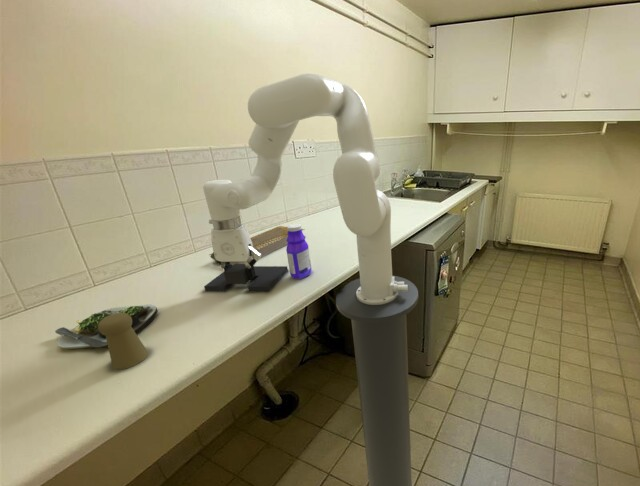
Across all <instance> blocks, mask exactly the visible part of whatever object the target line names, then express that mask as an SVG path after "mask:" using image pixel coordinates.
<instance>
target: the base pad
mask: <svg viewBox="0 0 640 486" xmlns="http://www.w3.org/2000/svg"><path fill="white" fill-rule="evenodd" d="M254 269H255V274H256V275H255V277H254V278H252V279H251V280H250V281H251V282H250V283H249V284H248V285H247V291H248V293H252V292H253V293H255V292H256V293H265V292H266V293H269V292H270V291H271V290H272V289H273V288H274V287H275V286H276V285H277V284H278V283H279V282H280V280H281V279H283V278H284V276H285V275H286V274H287V273H289V267H288V266H287V265H285V266H281V265H279V266H278V265H275V266H273V265H269V266H267V265H266V266H265V265H261V266H260V265H254ZM234 285H235V284H227V283H226V279H225V275H224V271H223V272H222V273H220V274H219V275H217V276H216V277H214V278H213V279H212V280H211V281H209V282H208V283H206V284H205V285H204V290H205V292H227V291H228V290H229V289H230V288H232V287H233V286H234Z"/></svg>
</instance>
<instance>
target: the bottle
mask: <svg viewBox="0 0 640 486" xmlns="http://www.w3.org/2000/svg"><path fill="white" fill-rule="evenodd" d="M286 227H287V228H288V235H287V236H288V238H287V242H288V244H287V245H286V249H285V250H286V257H287V263H288V270H289V274H290V277H291V278H293V279H296V280H297V279H298V280H300V279H305V278H306V277H308V276H309V275H310V274H311V273H312V263H311V262H312V261H311V256H310V248H309V244H308V242H307V240H306V236H305V235H304V233H303V228H302V225H301V224H299V223H293V224H292V223H291V224H289V225H287V226H286Z"/></svg>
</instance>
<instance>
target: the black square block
mask: <svg viewBox="0 0 640 486" xmlns="http://www.w3.org/2000/svg"><path fill="white" fill-rule="evenodd" d="M246 268H247V267H246V265H245V264H234V265H233V266H232V267H230V268H229V269H227V270H226V271H225V272H224V271H223V272H224V275H225V279H226V283H227V284H234V285H246V284H247V283H249V282H251V280H248V277H247V273H246ZM255 275H256V274H255Z"/></svg>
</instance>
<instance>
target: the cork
mask: <svg viewBox="0 0 640 486" xmlns="http://www.w3.org/2000/svg"><path fill="white" fill-rule="evenodd" d="M131 325H132V318H131V317H130V316H129V315H128V314H126V313H116V314H113V315H110V316H107V317H105V318H104V319H102V320H101V321H100V322H99V325H98V330H99V331H100V333H101V334H102V335H105V336H106V340H107V344H108V346H107V347H108V348H107V349H108V353H109V357H110V361H111V366H112V368H113V369H114V370H124V369H129V368H132V367H135V366H136V365H138V364H140V363H141V362H143V361H144V360H146V358H147V357H148V356H149V350H148V349H147V348H146V347H145V345H144V344H143V342H142V340H141V339H140V337H139V336H138V333H137V334H136V333H135V331H134V330H133V328H132V327H131Z"/></svg>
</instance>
